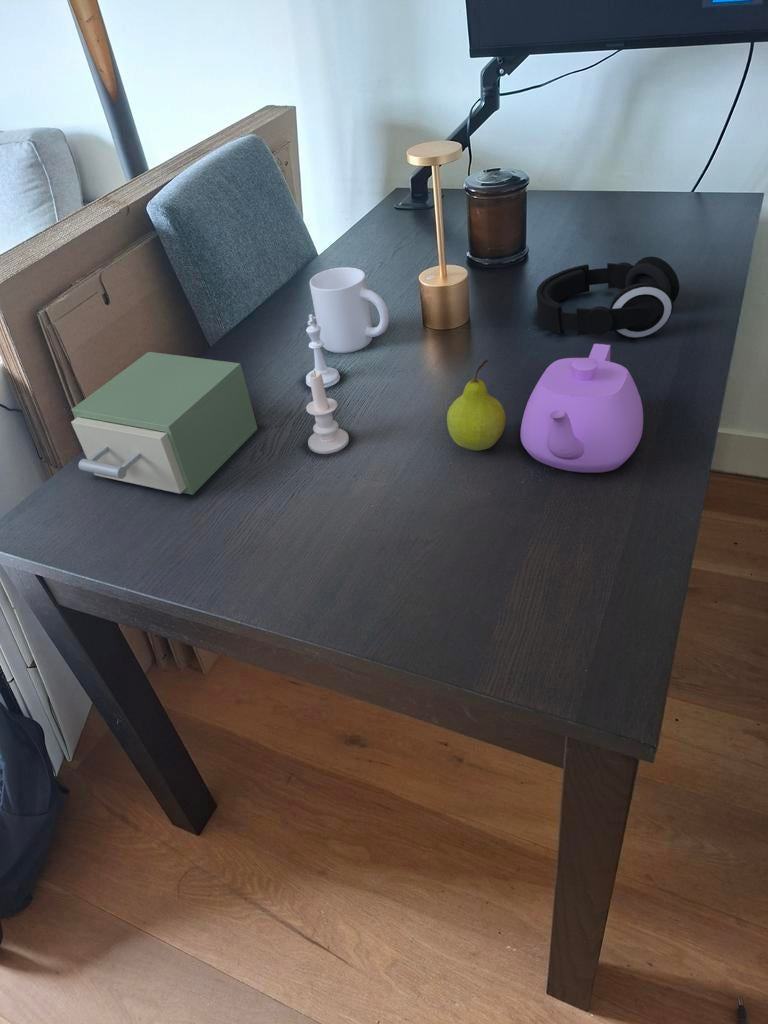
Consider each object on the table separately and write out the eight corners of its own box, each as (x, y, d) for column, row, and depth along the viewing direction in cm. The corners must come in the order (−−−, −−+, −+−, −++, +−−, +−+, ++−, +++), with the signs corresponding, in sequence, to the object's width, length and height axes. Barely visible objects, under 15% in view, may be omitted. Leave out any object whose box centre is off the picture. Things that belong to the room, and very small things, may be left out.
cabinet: (192, 495, 91) (168, 426, 85) (99, 475, 97) (70, 409, 91) (257, 428, 101) (240, 363, 95) (170, 414, 107) (148, 351, 101)
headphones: (666, 293, 99) (519, 298, 108) (666, 348, 104) (525, 349, 113) (687, 244, 111) (552, 253, 120) (686, 295, 116) (556, 300, 125)
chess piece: (300, 386, 108) (286, 322, 102) (315, 370, 112) (302, 306, 106) (331, 390, 107) (319, 324, 100) (345, 372, 110) (334, 308, 104)
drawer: (158, 516, 87) (135, 460, 82) (70, 495, 92) (44, 441, 87) (242, 432, 99) (227, 378, 94) (160, 418, 104) (142, 367, 99)
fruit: (437, 450, 92) (429, 362, 85) (471, 424, 96) (466, 337, 88) (483, 468, 88) (479, 377, 81) (517, 440, 92) (516, 351, 84)
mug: (404, 336, 117) (397, 271, 110) (378, 361, 112) (369, 295, 105) (338, 327, 122) (328, 264, 116) (310, 350, 117) (298, 286, 110)
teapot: (494, 488, 85) (492, 403, 78) (549, 398, 98) (550, 318, 91) (615, 512, 80) (624, 423, 73) (655, 413, 93) (666, 330, 86)
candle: (317, 459, 94) (301, 385, 87) (302, 439, 98) (286, 367, 91) (355, 445, 95) (343, 371, 89) (339, 426, 99) (326, 354, 93)
